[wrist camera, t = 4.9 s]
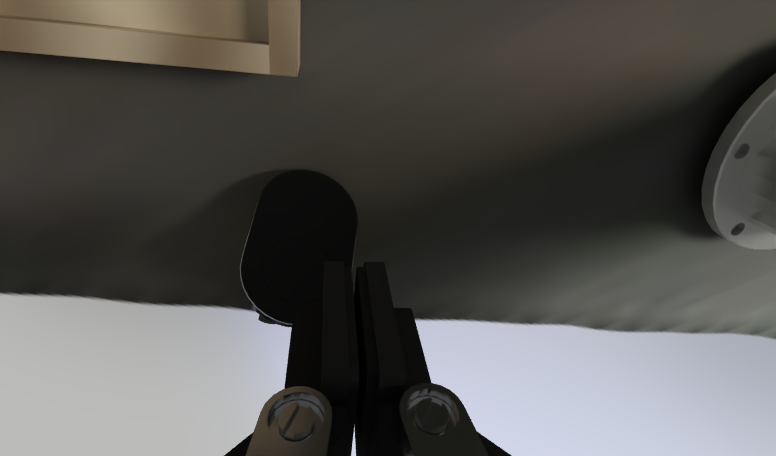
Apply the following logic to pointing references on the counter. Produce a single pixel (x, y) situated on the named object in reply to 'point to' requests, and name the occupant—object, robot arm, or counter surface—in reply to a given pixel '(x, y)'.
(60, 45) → the beech platter
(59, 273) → the counter surface
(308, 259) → the stand
